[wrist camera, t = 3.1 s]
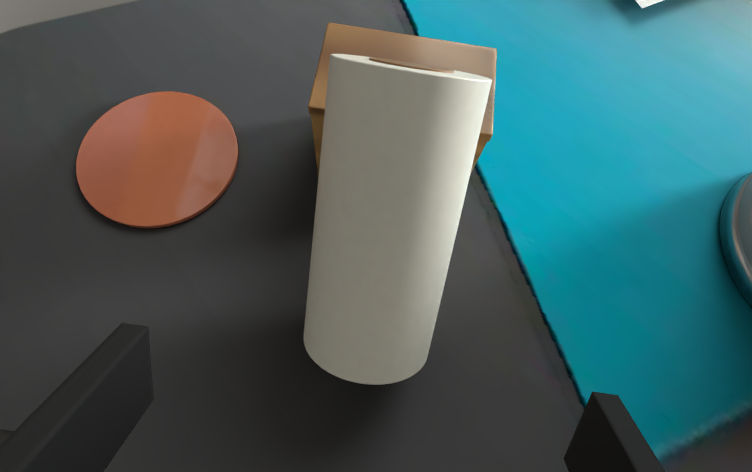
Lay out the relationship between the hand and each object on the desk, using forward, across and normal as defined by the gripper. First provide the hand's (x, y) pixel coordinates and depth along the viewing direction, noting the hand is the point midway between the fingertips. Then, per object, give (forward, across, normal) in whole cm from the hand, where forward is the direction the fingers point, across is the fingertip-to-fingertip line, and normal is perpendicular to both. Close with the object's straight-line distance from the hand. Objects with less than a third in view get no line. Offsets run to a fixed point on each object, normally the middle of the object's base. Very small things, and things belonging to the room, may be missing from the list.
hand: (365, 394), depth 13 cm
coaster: (+21, -16, 0) cm, 26 cm away
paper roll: (+16, 0, -4) cm, 17 cm away
